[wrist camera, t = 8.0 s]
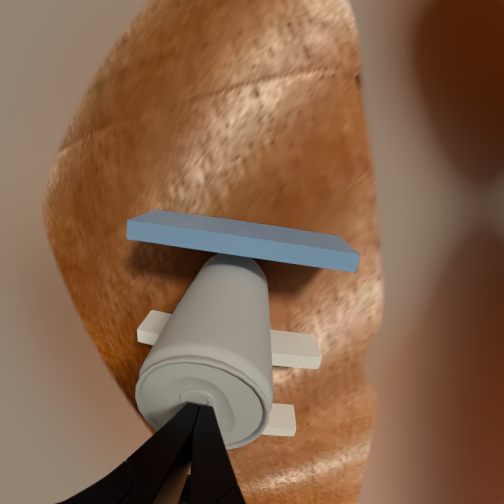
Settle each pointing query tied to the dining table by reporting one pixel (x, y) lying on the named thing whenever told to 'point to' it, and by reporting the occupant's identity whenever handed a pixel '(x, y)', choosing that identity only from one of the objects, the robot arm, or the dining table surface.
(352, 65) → the dining table surface
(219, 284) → the beverage can
